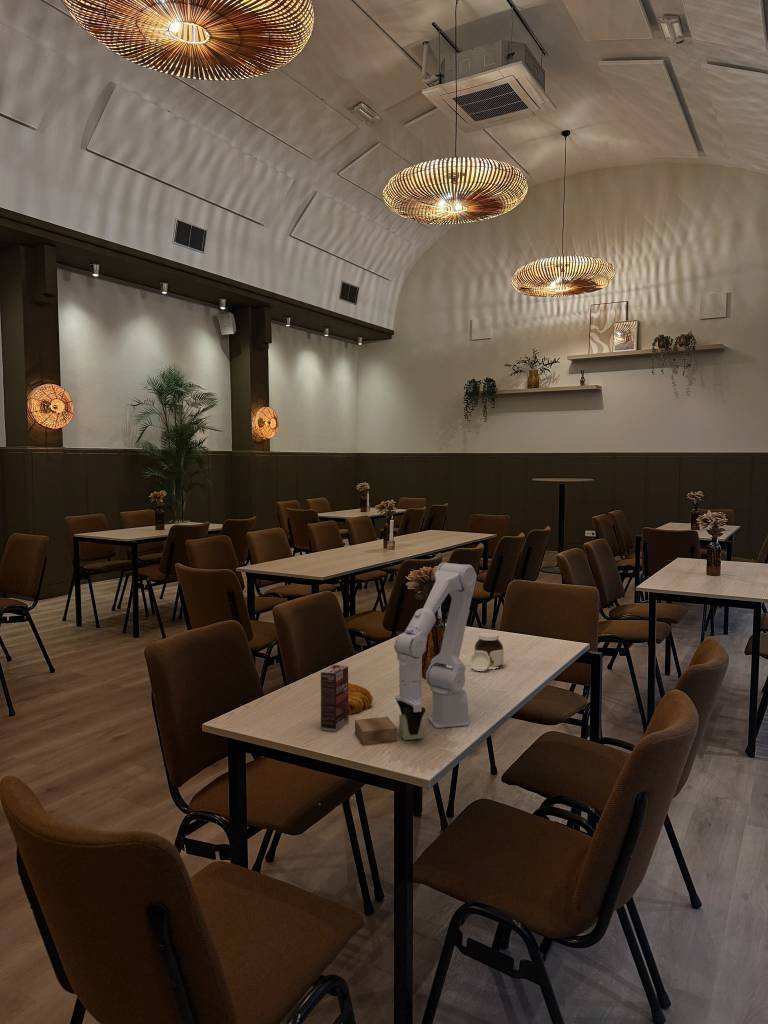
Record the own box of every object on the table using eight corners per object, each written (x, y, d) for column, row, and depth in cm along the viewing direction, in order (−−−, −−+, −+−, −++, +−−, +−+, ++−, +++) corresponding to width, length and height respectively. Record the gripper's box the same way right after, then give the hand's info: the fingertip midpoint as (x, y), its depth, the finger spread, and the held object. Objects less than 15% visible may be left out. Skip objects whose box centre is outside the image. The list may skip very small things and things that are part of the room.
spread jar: (501, 664, 258) (501, 632, 257) (506, 673, 246) (506, 639, 246) (468, 664, 258) (467, 632, 257) (471, 673, 247) (471, 639, 246)
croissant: (328, 725, 205) (328, 699, 203) (318, 700, 219) (318, 676, 218) (377, 718, 208) (377, 692, 207) (365, 695, 223) (364, 671, 222)
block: (387, 731, 194) (387, 716, 194) (397, 743, 185) (396, 727, 185) (355, 734, 192) (354, 719, 191) (363, 747, 183) (363, 731, 183)
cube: (417, 731, 192) (417, 713, 191) (422, 738, 187) (422, 719, 186) (399, 733, 190) (399, 714, 190) (404, 740, 186) (403, 721, 185)
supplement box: (336, 732, 192) (335, 674, 192) (320, 730, 194) (319, 672, 193) (349, 722, 200) (349, 665, 200) (334, 720, 202) (333, 664, 201)
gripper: (389, 672, 194) (389, 722, 195) (402, 688, 180) (402, 741, 181) (414, 670, 195) (415, 719, 196) (429, 686, 181) (429, 739, 182)
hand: (411, 730), depth 188 cm, fingers closed on cube, 5 cm apart
